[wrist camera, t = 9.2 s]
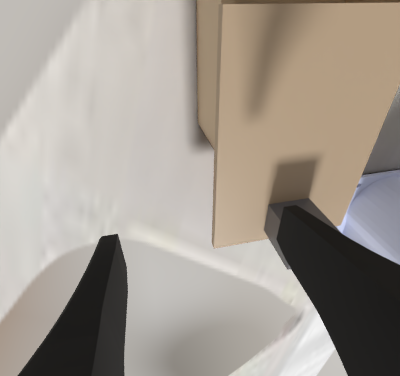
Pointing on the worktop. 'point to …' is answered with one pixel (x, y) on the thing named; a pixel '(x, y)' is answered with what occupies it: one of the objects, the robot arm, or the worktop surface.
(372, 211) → the robot arm
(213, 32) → the carton
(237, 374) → the worktop surface
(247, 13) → the carton lid
